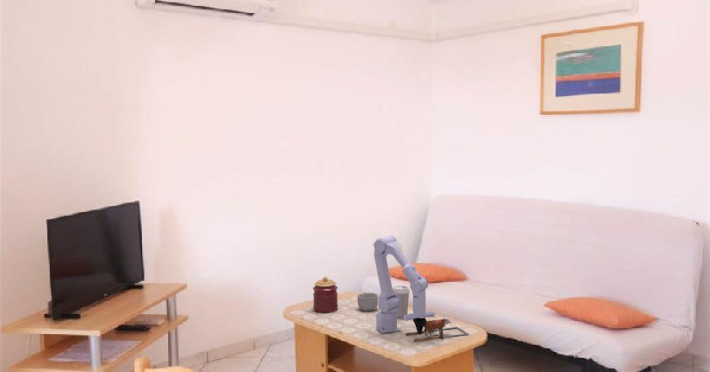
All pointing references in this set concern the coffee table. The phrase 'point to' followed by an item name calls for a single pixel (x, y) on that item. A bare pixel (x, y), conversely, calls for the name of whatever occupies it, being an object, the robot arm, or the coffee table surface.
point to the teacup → (367, 301)
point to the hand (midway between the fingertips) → (419, 333)
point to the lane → (453, 335)
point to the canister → (325, 296)
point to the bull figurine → (435, 325)
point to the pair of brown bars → (426, 337)
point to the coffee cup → (402, 300)
